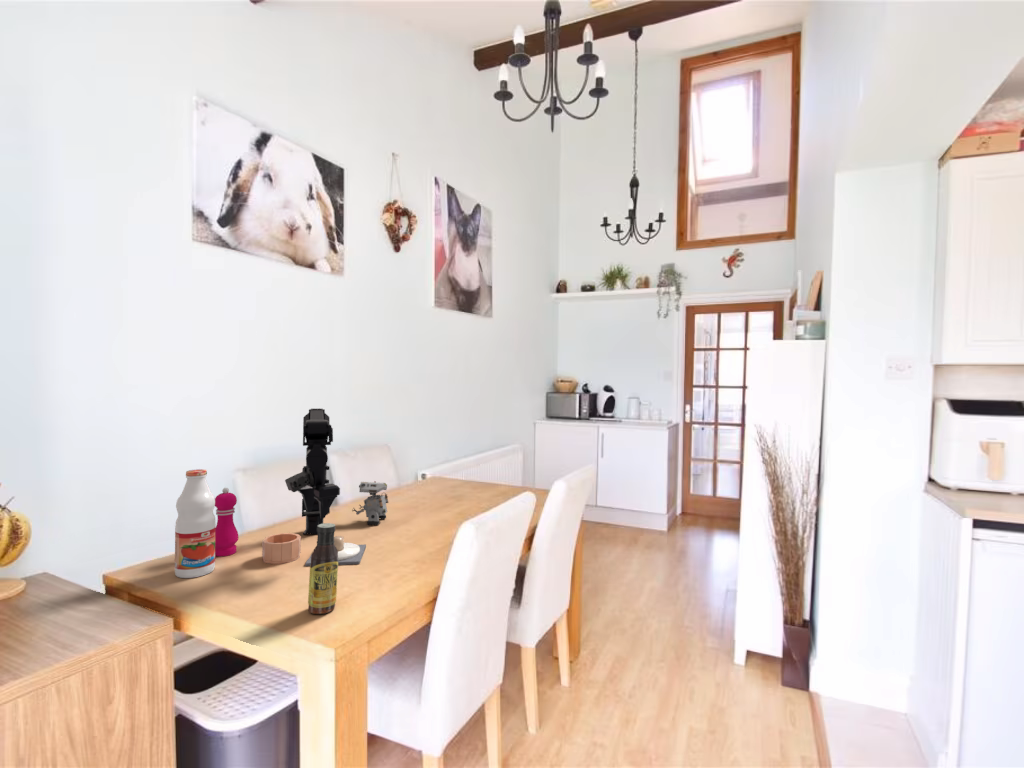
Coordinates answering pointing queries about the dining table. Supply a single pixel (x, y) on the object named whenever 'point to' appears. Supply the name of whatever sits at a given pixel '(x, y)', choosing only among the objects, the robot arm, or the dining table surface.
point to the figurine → (374, 502)
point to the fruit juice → (195, 527)
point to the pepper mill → (225, 524)
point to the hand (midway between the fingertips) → (315, 515)
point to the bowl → (281, 548)
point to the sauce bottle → (323, 572)
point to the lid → (345, 548)
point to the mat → (348, 561)
